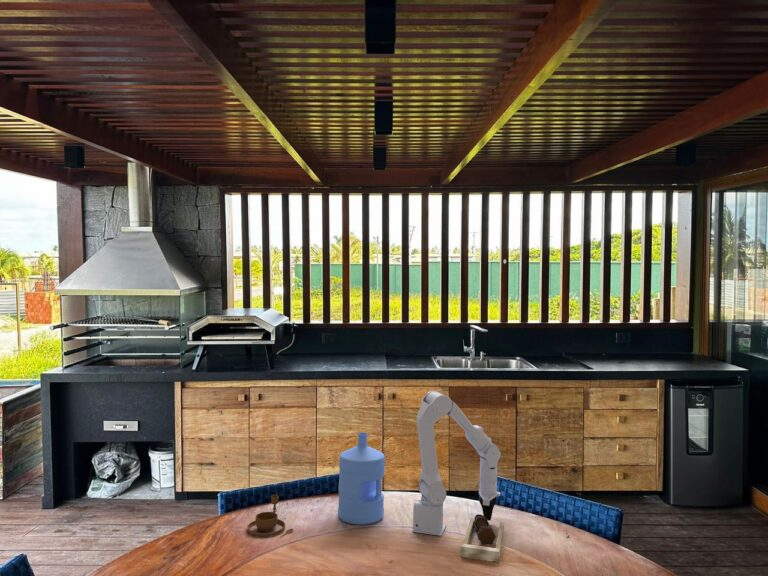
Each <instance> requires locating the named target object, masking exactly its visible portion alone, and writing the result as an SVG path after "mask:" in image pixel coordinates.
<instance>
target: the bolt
mask: <svg viewBox="0 0 768 576" xmlns="http://www.w3.org/2000/svg"><path fill="white" fill-rule="evenodd" d="M473 523H474V527H475V528H476V530H477V533H476V536H477V538H478V540H479V542H480V544H481V543H482V544H481V545H485V544H490V545H492V544H493V543H494V542H495V540H496V537H497V535H496V533H495V531H494V529H493V528H492V526H490V523H489V520H487V519H486V517H485V516H483V515H482V514H479V513H477V514H476V515H475V516H474V522H473Z"/></svg>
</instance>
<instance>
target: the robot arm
mask: <svg viewBox="0 0 768 576" xmlns="http://www.w3.org/2000/svg"><path fill="white" fill-rule="evenodd" d="M446 415H447V416H449V417H451V418H452V419H453V420H454V421H455V422H456V423H457V424H458V425H459V426H460V427H461V429H463V431H464V432H465V433H464V436H465V438H466V440H467V441H468V442H469V443H470V445H472V446H473V448H474V449H475V450H476V453H477V455H479V456H480V457H479V490H478V495H479V498H478V502H479V504H480V506H481V510H482V514H483V516H485V517H486V519H487V521H488V522H489V521H491V520H492V518H493V517H492V516H493V510H494V507H495V505H496V503H497V499H498V497H500V496H501V492H500V491H498V489H497V488H498V465H499V464H498V463H499V460H500V458H501V455H502V453H501V451H500V448H499V446H497V445H496V444H494V443H492V442H493V439H492V438H491V437H489V436H488V435H487V434H486V433H485V432H484V430H485V429H484V428H483V427H482V426H479V425H475V424H472V423H471V421H470V420H469V419H468V417H467V416H466V415H465V413H463V411H462V410H461V408H460V407H459V406H458V405H457V403H455V402H454V401H453V400H451V398H450V397H449V396H448V395H446V394H443V393H440V392H439V391H437V390H430V391H428V392H427V393H426V394H425V395H424V396H423V397H422V398H421V405H420V407H419V410H418V413H417V416H416V427H417V428H416V429H417V436H418V437H417V438H418V445H419V446H418V447H419V455H420V464H421V473H420V475H419V479H420V480H419V484H418V491H419V493H420V495H421V497H420V499H415V501H414V502H413V503H414V504H413V510H412V511H413V512H412V514H413V515H412V533H417V534H418V533H419V534H425V535H426V534H427V535H432V536H439V537H440V536H441V537H442V536H443V533H444V531H445V528H446V524H445V523H444V502H445V501H446V499H447V491H446V489H445V487H444V485H443V479H442V477H441V476H440V473H439V466H438V465H439V464H438V455H437V445H436V437H435V430H434V428H435V427H434V424H436V422H437V421H438V420H439V419H441V418H443V417H444V416H446ZM443 523H444V524H443Z"/></svg>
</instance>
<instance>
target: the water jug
mask: <svg viewBox="0 0 768 576" xmlns="http://www.w3.org/2000/svg"><path fill="white" fill-rule="evenodd" d="M357 435H358V436H357V437H358V438H357V445H356V446H352V447H351V448H349V449H347V450H345V451H342V452H341V453H340V455H339V460H338V462H339V463H338V468H339V471H338V473H339V474H338V476H339V477H338V509H337V515H338V518H339V519H340V520H341V521H342V522H344V523H347V524H352V525H358V526H359V525H360V526H361V525H370V524H374V523H377V522H379V521H381V520H382V519H383V517H384V515H385V507H384V506H385V502H384V501H385V497H384V493H383V492H382V482H383V481H382V480H383V478H384V476H385V467H386V466H385V465H386V460H385V459H386V457H385V454H384V453H383V452H382V451H379V450H378V449H375V448H373V447H371V446H368V433H367V432H358V433H357Z"/></svg>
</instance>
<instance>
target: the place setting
mask: <svg viewBox="0 0 768 576" xmlns="http://www.w3.org/2000/svg"><path fill="white" fill-rule="evenodd" d="M270 499H271V500H270V501H271V504H272V505H273V508H272V509H273V511H262V512H260V513H258V514H255V520H253V521H251V522H250V523H248V525H247V527H246V528H247V529H246V530H247V532H248V534H249V535H251V536H254V537H259V538H269V537H273V536H274V537H275V536H276V535H280V534H282V532H284V530H285V528H286V523H285V521H284V520H282V519H280V518H278V516H279V515H278V513H276V512H277V511H276V510H277V506H276V505H278V503H279V495H278V494H271V496H270ZM277 525H280V526H281V527H282V528H281V529H279V530H275V531H273V529H274V528H276V526H277ZM255 526H256V528H257V529H259V530H260V531H261V533H260V532H255V531H252V530H251V528H253V527H255ZM263 532H264V533H263ZM293 532H294V528H290V529H287V530H286V531H285V532H284V534H282V535H281V536H280V537H279V538H283V537H284V536H286V535H289V534H291V533H293Z"/></svg>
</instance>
